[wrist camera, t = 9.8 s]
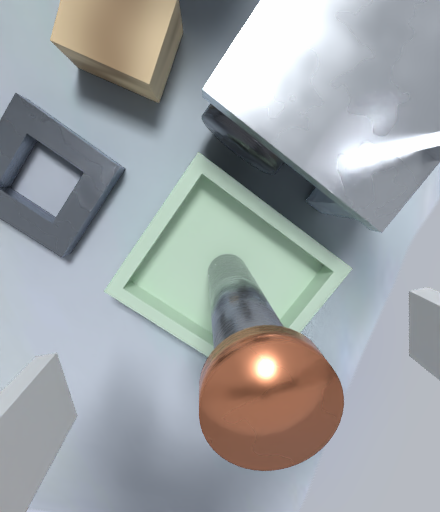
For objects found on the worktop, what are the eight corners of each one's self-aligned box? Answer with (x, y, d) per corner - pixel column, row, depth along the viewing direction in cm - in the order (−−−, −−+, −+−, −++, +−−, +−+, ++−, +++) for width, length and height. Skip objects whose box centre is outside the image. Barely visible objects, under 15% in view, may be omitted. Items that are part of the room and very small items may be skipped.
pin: (189, 280, 24) (169, 429, 9) (221, 235, 23) (258, 315, 8) (233, 309, 24) (283, 491, 10) (265, 266, 24) (372, 391, 9)
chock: (79, 68, 21) (50, 40, 17) (100, -7, 20) (74, -55, 16) (159, 104, 22) (149, 84, 18) (183, 32, 21) (178, -5, 17)
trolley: (202, 127, 22) (185, -117, 5) (289, -2, 20) (737, -1066, 3) (324, 222, 24) (635, 298, 7) (411, 110, 22) (1114, -177, 5)
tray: (114, 281, 24) (103, 291, 22) (199, 156, 22) (198, 151, 20) (250, 368, 26) (255, 387, 24) (337, 260, 25) (352, 268, 22)
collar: (-24, 192, 22) (-41, 192, 21) (28, 99, 21) (15, 92, 20) (70, 253, 23) (61, 257, 22) (125, 168, 22) (119, 166, 21)
